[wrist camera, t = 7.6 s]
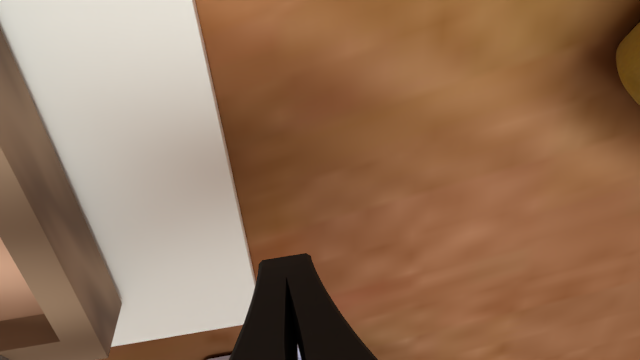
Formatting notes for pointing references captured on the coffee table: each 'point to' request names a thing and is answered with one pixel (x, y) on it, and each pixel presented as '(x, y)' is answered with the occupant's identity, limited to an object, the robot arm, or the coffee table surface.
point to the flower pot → (630, 62)
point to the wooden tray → (45, 244)
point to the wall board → (140, 154)
